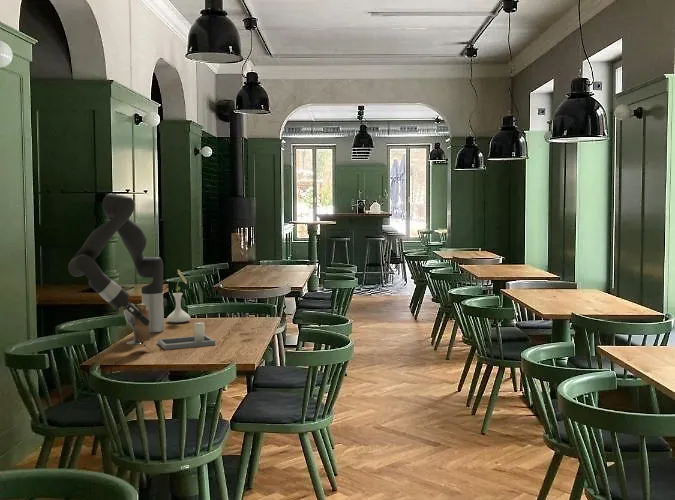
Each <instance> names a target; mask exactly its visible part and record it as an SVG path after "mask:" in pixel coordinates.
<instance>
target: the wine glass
mask: <svg viewBox="0 0 675 500" xmlns="http://www.w3.org/2000/svg"><path fill="white" fill-rule="evenodd" d="M134 306H135V307H136V308H137V304H136V305H135V304H134ZM123 313H124V319H125V320H126V322H127V323H128V324H129V325H130V327H131V328H132V330H133V340H130V341H127V342H126V343H125V344H126V345H141V344H143V343H145V341H135V318H134V317H133V316H132V315H130V314H129V313H127V312H126V311H125V310H124V309H123Z"/></svg>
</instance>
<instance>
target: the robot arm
mask: <svg viewBox="0 0 675 500" xmlns="http://www.w3.org/2000/svg"><path fill="white" fill-rule="evenodd" d="M102 209H103V210H102V211H103V212H104V214H105V216H106V217H107V218H108V221H107V222H105V223H103V224H101V225H100V226H98V227H97V228H95V229H94V230H93V231H92V232H91V233H90V234H89V236H88V237H87V238H86V239H85V241H84V243H83V245H82V246H81V248H80V249H79V250H78V251H77V252H76V254H74V255H73V257H72V258H71V260H70V261H69V263H68V266H67V269H68V272H69V275H70V276H72V277H76V278H79V277H83V276H86V278H87V279H88V285H89V287H90V288H92V289H93V291H95V292H96V293H97V294H98V295H99V296H100V297H101V298H102V299H103V300H105V302H107V303H108V304H109V305H110V306H111V307H113V309H115V310H118V309H120V308H121V307H123V308H122V310H123V311H124V310H125V311H126V312H127V313H129V314H130V315H132V316H133V317H134V316H135V317H136V319H138V320H140V321H141V322H142V323H143V324H145V325H146V326H147V325H148V324H149V330H150V333H161V332H163V331H165V319H164V315H165V313H164V291H163V290H164V289H163V288H164V262H163V259H162V258H161V257H160V256H159V257H158V256H144V255H143V252H144V251H145V248H146V246H147V242H148V241H147V237H146V235H145V233H144V231H143V229H142V227H140V226H139V225H138V224H137V223H136V222H135V221H133V220H132V219H131V218H130V217H132V215H133V213H134V211H135V201H134V199H133V198H132V197H130V196H129V195H128V196H127V195H122V194H116V193H110V194H107V195H105V196H104V198H103V200H102ZM116 233H117V234H118V235H119V237H120V239H121V240H122V242H123V245H124V247H125V248H126V250H127V252H128V254H129V255H130V258H131V260H132V262H133V264H134V267H135V269H136V272H137V274H138V276H139V277H141V278H144V279H145V278H147V279H148V278H149V279H150V278H151V279H152V281H151V282H150V283H149V284H146V285H143V286H142V287H141V288H140V289H141V291H140V292H141V304H146V308H147V309H149V320H148V319H147V318H145V317H144V316H143V314H142V313H140V312H139V309H137V308H136V307H135V306H134V305H135V304H134V303H132V301H128V300H129V298H130V297H131V296H130V294H129V292H127V291H126V290H125V289H124V288H122V286H120V285H119V284H118V282H115V281H114V280H113V279H111V278H110V276H108V275H107V274H105V273H104V272H103V270H102V269H101V267H100V266H99V265H98V263H97V262H96V259H97V258H98V257H99V255H100V254H101V253H102V252H103V250H104V248H105V247H106V245H107V244H108V242H109V241H110V239H112V237H113V236H114V235H115V234H116ZM137 313H139V315H138V316H136V314H137Z"/></svg>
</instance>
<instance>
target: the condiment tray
mask: <svg viewBox="0 0 675 500" xmlns="http://www.w3.org/2000/svg"><path fill="white" fill-rule="evenodd" d="M156 341H157V344H158V346H159V347H161V348H162V349H163V350H164V351H166V350H177V349H187V348H198V347H199V348H200V347H208V346H216V340H215V339H214V338H212V337H211V336H209V335H207V334H205V341H200V342H195V335H191V336H182V337H181V336H180V337H171V338H160V339H159V338H158V339H157V340H156Z"/></svg>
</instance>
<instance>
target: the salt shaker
mask: <svg viewBox="0 0 675 500" xmlns="http://www.w3.org/2000/svg"><path fill="white" fill-rule="evenodd" d="M193 325H194V329H193V330H194V336H195V342H200V341H205V335H206V334H205V333H206V332H205V322H202V321H201V322H194V323H193Z"/></svg>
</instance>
